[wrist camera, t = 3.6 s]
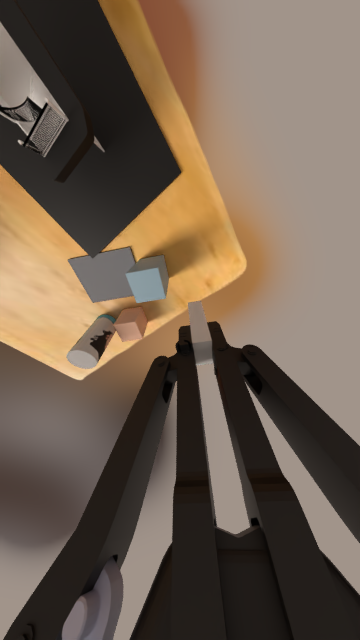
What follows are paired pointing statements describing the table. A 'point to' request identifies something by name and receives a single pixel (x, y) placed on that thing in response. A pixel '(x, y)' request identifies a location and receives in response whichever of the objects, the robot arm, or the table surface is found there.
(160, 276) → the slate-blue block
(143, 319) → the terracotta block
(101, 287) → the charcoal mat
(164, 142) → the black-topped pedestal
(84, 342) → the white patterned canister
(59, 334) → the table surface
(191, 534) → the robot arm
